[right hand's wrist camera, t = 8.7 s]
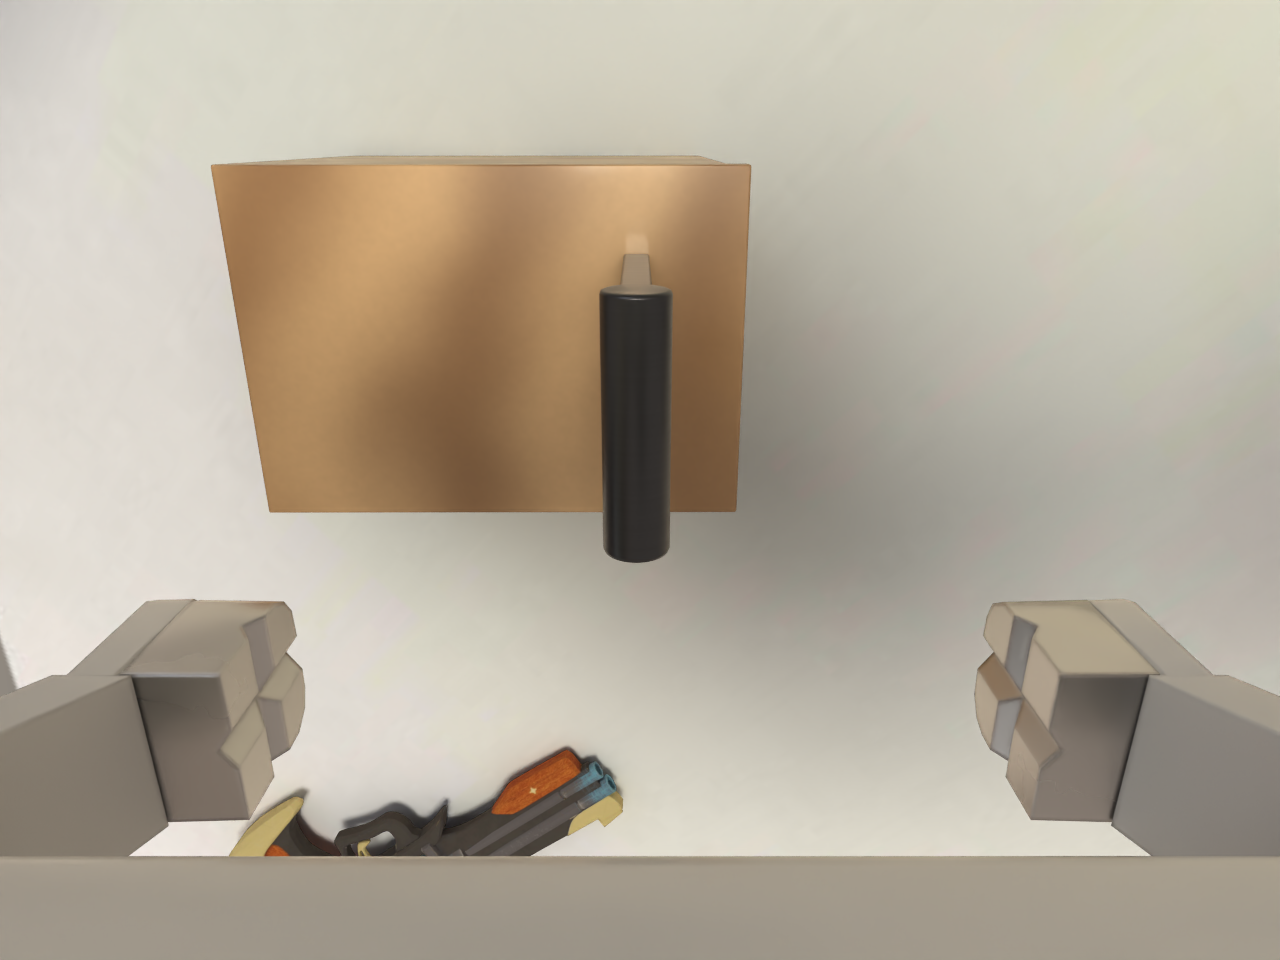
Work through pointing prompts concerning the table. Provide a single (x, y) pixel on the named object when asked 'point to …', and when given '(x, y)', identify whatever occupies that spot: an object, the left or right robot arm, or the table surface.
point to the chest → (498, 160)
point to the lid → (494, 337)
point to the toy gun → (512, 827)
